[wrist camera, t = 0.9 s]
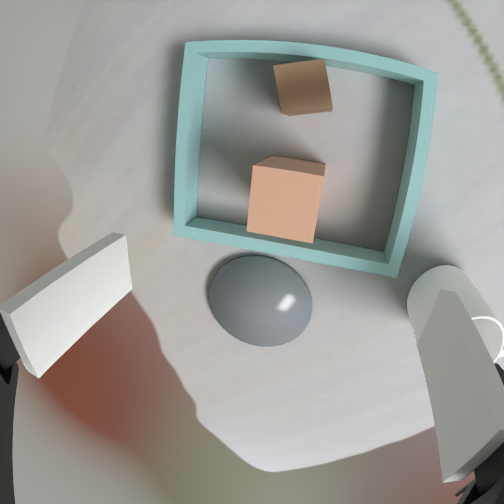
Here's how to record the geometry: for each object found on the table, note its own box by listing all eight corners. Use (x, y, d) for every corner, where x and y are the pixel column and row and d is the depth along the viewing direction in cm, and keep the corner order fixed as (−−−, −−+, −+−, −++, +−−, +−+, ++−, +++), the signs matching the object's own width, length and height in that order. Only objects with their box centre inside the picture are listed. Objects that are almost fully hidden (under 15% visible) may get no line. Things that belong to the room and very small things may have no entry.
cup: (424, 253, 27) (456, 305, 18) (501, 282, 26) (539, 332, 17) (393, 317, 31) (407, 381, 22) (469, 337, 29) (493, 394, 20)
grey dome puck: (212, 245, 33) (210, 248, 33) (321, 267, 31) (321, 269, 30) (209, 330, 38) (207, 333, 38) (301, 352, 36) (300, 355, 35)
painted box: (271, 155, 28) (250, 164, 21) (325, 163, 27) (324, 176, 20) (265, 205, 30) (244, 231, 23) (317, 213, 29) (312, 243, 22)
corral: (198, 48, 25) (185, 42, 22) (427, 77, 21) (437, 72, 18) (186, 225, 33) (173, 234, 30) (391, 264, 29) (396, 278, 26)
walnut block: (282, 76, 24) (272, 65, 20) (324, 71, 23) (324, 59, 19) (289, 115, 26) (281, 112, 21) (331, 111, 25) (332, 107, 20)
